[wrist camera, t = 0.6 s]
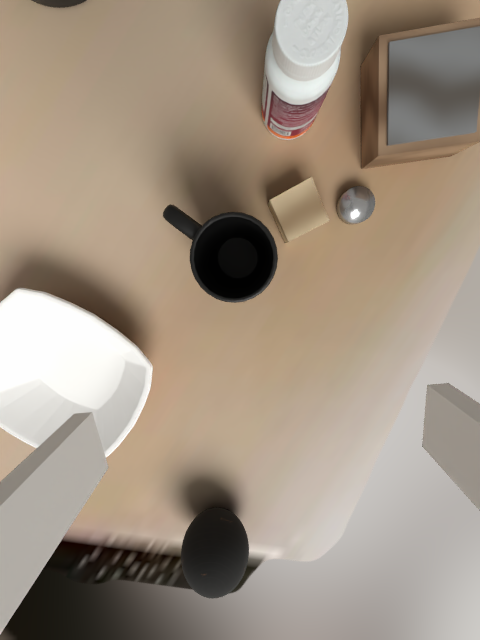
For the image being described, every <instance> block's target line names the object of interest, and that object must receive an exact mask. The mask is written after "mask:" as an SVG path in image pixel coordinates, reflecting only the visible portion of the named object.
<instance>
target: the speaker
mask: <svg viewBox="0 0 480 640" xmlns="http://www.w3.org/2000/svg"><path fill="white" fill-rule="evenodd" d="M248 556H249V545H248V538H247V534H246V531H245V528H244V526H243V524H242V523H241V521H240V520H239V519H238V517H237V516H236V515H235V514H233V513H232V512H230V511H229V510H226V509H223V508H211V509H208V510H206V511H204V512H202V513H201V514H199V515H198V516H197V517H196V518H195V519H194V520H193V521H192V523H191V524H190V526H189V527H188V529H187V531H186V534H185V536H184V540H183V544H182V551H181V561H182V568H183V572H184V575H185V577H186V580H187V581H188V583H189V585H190V586H191V587H192V589H193V590H194V591H195V592H197V593H198V594H200V595H201V596H204V597H207V598H219V597H222V596H224V595H226V594H228V593H230V592H231V591H232V590H233V589H234V588H235V587H236V586H237V585H238V583H239V582H240V580H241V579H242V577H243V575H244V572H245V570H246V566H247V562H248Z"/></svg>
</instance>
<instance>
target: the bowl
mask: <svg viewBox="0 0 480 640" xmlns="http://www.w3.org/2000/svg"><path fill="white" fill-rule="evenodd" d="M152 372H153V366H152V364H151V362H150V361H149V360H148V358H147V357H146V356H145V355H144V354H143V352H142V351H141V350H140V349H139V348H138V346H137V345H135V344H134V343H133V342H132V341H130V340H129V339H128V338H127V337H125V336H124V335H123V334H122V333H121V332H119V331H118V330H117V329H115V328H114V327H113V326H111V325H110V324H108V323H107V322H105V321H104V320H102V319H101V318H99V317H98V316H96V315H95V314H93V313H91V312H89V311H87V310H85V309H83V308H81V307H79V306H77V305H75V304H73V303H71V302H69V301H66V300H64V299H61V298H59V297H57V296H54V295H52V294H49V293H47V292H43V291H37V290H32V289H27V288H17V289H15V290H14V291H13V292H12V293H10V294H9V295H8V296H7V297H6V298H5V299H3V300H2V301H1V302H0V427H1V428H2V429H4V430H5V431H7V432H8V433H10V434H11V435H13V436H15V437H17V438H18V439H20V440H22V441H23V442H25V443H27V444H29V445H31V446H33V447H35V448H38V447H39V446H40V445H41V444H42V443H43V442H44V441H45V440H46V439H47V438H48V437H49V436H51V435H52V434H53V433H54V432H55V431H56V430H57V429H58V428H59V427H60V426H61V425H62V424H63V423H65V422H66V421H67V420H68V419H69V418H70V417H71V416H72V415H73V414H75V413H87V412H92V413H93V416H94V420H95V423H96V427H97V430H98V433H99V437H100V440H101V444H102V447H103V450H104V454H105V457H107V456H109V455H110V454H111V453H112V452H113V451H114V450H115V449H116V448H117V447H118V445H119V444H120V443H121V442H122V441H123V439H124V438H125V437H126V436H127V434H128V433H129V432H130V430H131V429H132V428H133V426H134V425H135V423H136V421H137V419H138V417H139V415H140V413H141V411H142V409H143V407H144V405H145V402H146V399H147V397H148V394H149V391H150V388H151V381H152Z"/></svg>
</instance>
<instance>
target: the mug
mask: <svg viewBox="0 0 480 640" xmlns="http://www.w3.org/2000/svg"><path fill="white" fill-rule="evenodd" d="M163 217H164V218H165V220H167V221H168V222H169V223H170V224H171V225H173V226H174V227H175V228H177V229H178V230H179V231H181V232H182V233H183V234H185V235H186V236H188V237H189V238H190V239H192V240H193V242H192V245H191V249H190V264H191V269H192V272H193V275H194V277H195V279H196V281H197V282H198V284H199V285H200V287H201V288H202V289H203V290H204V291H205V292H207V293H208V294H209V295H211V296H212V297H214V298H216V299H219V300H222V301H225V302H234V303H236V302H243V301H247V300H249V299H252V298H254V297H256V296H257V295H259V294H260V293H262V292H263V291H264V290H265V289H266V287H267V286H268V285H269V284H270V282H271V280H272V279H273V277H274V274H275V271H276V268H277V260H278V255H277V247H276V244H275V241H274V238H273V236H272V235H271V233H270V231H269V230H268V229H267V227H266V226H265V225H264V224H263V223H262V222H261V221H259V220H257V219H256V218H254V217H253V216H250V215H247V214H244V213H238V212H228V213H222V214H220V215H217V216H215V217H212V218H211V219H210V220H208V221H207V222H206V223H204V224H203V225H200V224H199V223H198V222H196V221H195V220H193V219H192V218H191V217H189V216H188V215H187V214H185V213H184V212H183V211H181V210H180V209H178V208H177V207H176V206H174V205H171V204H170V205H169V206H167V207H166V208H165V210H164V212H163Z"/></svg>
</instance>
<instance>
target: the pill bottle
mask: <svg viewBox="0 0 480 640" xmlns="http://www.w3.org/2000/svg"><path fill="white" fill-rule="evenodd" d="M347 25H348V7H347V3H346V0H280V2H279V5H278V8H277V11H276V16H275V22H274V29H273V32H272V34H271V37H270V39H269V42H268V45H267V49H266V56H265V66H264V79H263V92H262V117H263V121H264V124H265V126H266V128H267V129H268V130H269V132H270V133H271V134H272V135H274V136H275V137H277V138H279V139H283V140H291V139H295V138H298V137H300V136H302V135H303V134H304V133H305V132H307V131H308V129H309V128H310V127H311V125H312V124H313V122H314V120H315V118H316V115H317V113H318V111H319V109H320V107H321V105H322V103H323V101H324V99H325V97H326V94H327V92H328V90H329V88H330V85H331V84H332V81H333V79H334V77H335V74H336V72H337V69H338V66H339V61H340V47H341V45H342V42H343V40H344V37H345V34H346V31H347Z"/></svg>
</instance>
